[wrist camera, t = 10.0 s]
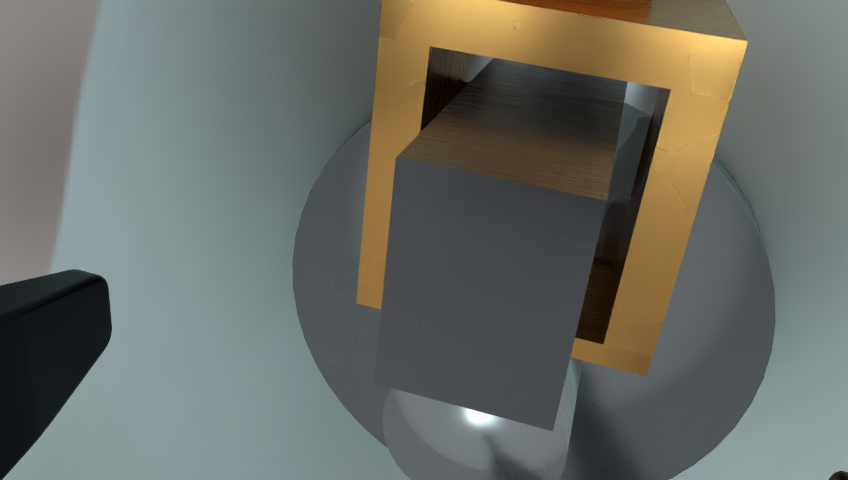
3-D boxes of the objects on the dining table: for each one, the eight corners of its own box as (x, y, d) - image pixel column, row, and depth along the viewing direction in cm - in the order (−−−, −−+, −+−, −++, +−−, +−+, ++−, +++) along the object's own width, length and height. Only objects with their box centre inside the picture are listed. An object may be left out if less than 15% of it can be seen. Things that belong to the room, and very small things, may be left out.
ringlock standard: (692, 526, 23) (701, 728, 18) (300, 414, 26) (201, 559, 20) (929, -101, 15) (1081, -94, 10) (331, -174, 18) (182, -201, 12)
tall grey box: (592, 231, 19) (553, 431, 12) (476, 206, 20) (374, 383, 13) (628, 73, 17) (606, 200, 10) (499, 51, 18) (395, 157, 11)
